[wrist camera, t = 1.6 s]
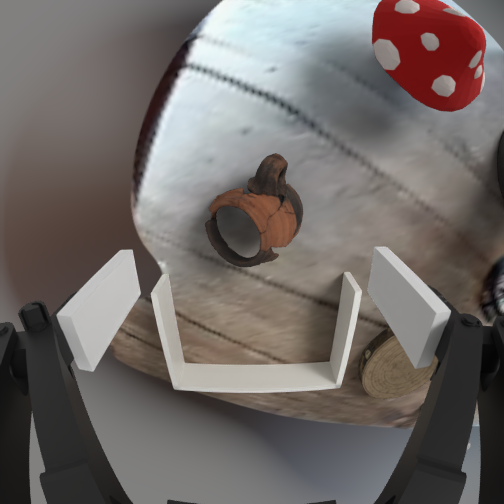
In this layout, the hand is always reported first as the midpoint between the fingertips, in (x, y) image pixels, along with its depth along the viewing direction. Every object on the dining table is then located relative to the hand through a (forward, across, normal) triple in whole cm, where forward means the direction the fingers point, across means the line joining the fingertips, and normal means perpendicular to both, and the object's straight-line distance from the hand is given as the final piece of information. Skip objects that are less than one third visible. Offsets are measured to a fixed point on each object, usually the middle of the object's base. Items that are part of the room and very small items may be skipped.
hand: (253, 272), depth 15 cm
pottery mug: (+19, -1, 0) cm, 19 cm away
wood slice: (+19, -24, +25) cm, 40 cm away
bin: (+18, 0, +17) cm, 25 cm away
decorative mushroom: (+18, -18, -18) cm, 31 cm away
